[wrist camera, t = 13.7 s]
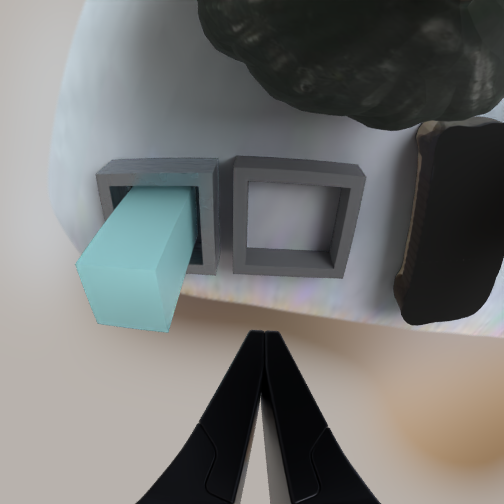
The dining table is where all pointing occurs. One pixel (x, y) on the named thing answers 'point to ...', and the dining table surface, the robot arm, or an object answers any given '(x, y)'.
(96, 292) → the plug
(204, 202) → the port block
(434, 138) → the black sponge
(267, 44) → the squash
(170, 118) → the dining table surface
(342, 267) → the grey square frame
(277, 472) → the robot arm
